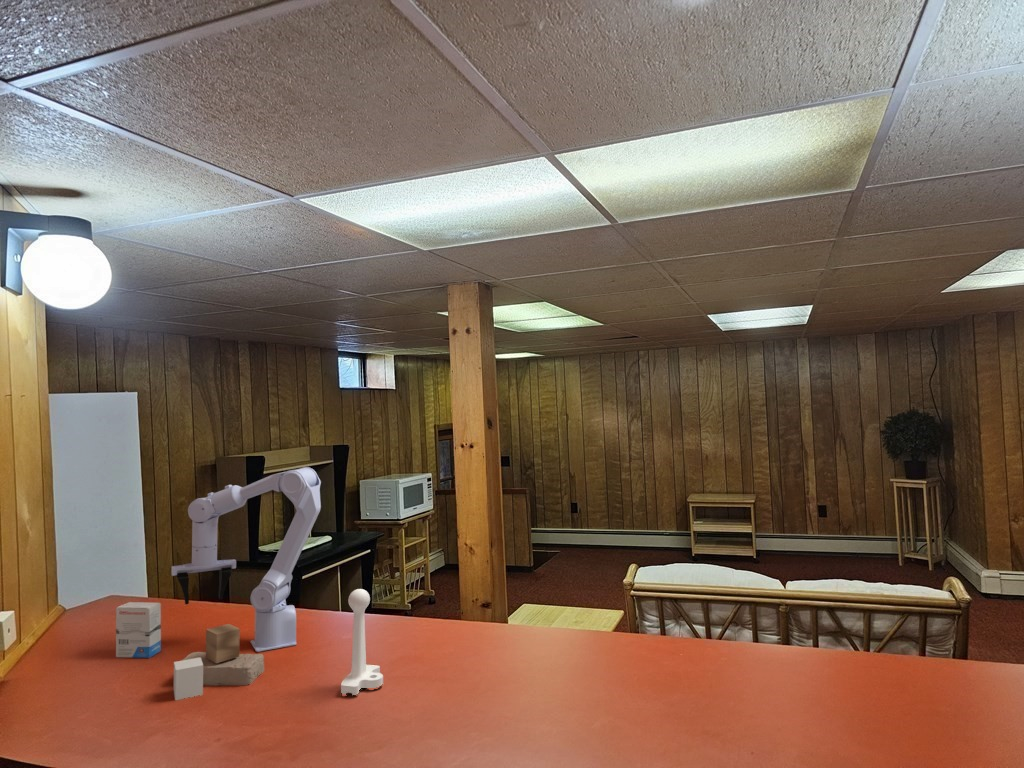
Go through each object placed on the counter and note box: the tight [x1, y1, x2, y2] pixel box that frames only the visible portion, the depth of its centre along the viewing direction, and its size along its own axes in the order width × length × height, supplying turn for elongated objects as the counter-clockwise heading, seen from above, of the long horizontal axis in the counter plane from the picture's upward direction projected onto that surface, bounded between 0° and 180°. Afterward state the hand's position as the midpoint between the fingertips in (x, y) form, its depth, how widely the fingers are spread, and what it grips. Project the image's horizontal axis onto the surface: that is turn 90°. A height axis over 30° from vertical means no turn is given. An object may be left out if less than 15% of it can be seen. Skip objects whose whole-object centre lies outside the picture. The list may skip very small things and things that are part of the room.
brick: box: [182, 651, 265, 686], centre depth 142 cm, size 17×8×5 cm, turn 89°
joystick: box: [340, 588, 384, 696], centre depth 137 cm, size 11×8×20 cm
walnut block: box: [205, 623, 241, 663], centre depth 143 cm, size 5×5×6 cm
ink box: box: [115, 601, 162, 659], centre depth 156 cm, size 9×5×12 cm, turn 84°
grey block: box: [173, 657, 204, 701], centre depth 134 cm, size 5×5×6 cm
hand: (203, 600), depth 163 cm, fingers open, 7 cm apart
